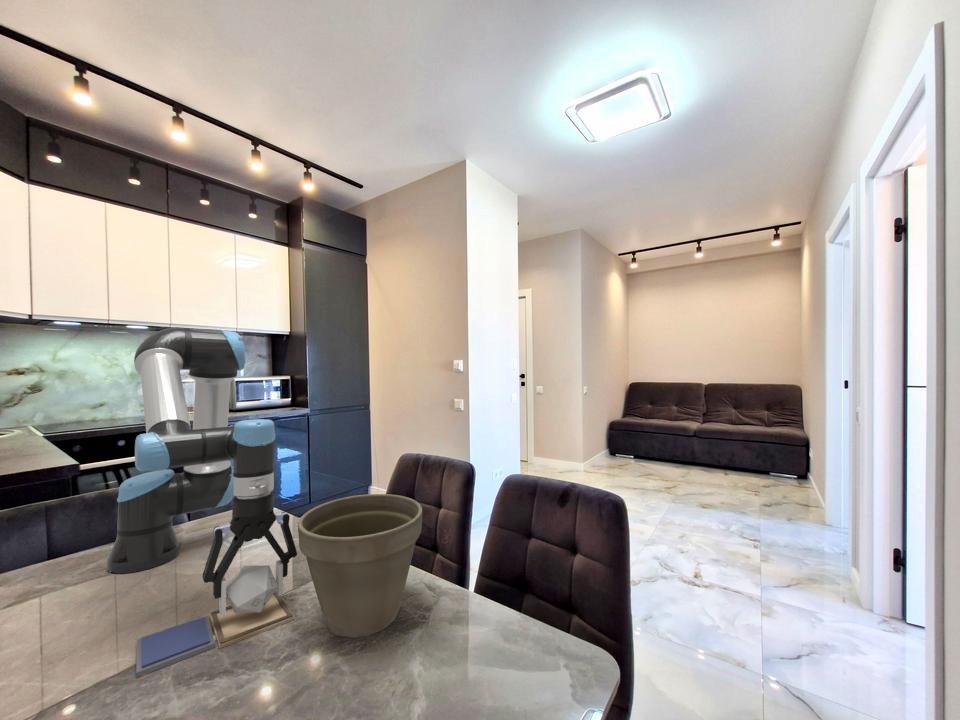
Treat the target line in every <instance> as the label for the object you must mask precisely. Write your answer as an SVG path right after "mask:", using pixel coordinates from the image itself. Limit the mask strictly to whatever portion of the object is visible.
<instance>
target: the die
mask: <svg viewBox="0 0 960 720" xmlns="http://www.w3.org/2000/svg"><path fill="white" fill-rule="evenodd" d="M277 588H278V584H277V582H276V577H275V576H274V573H273V572H272V570H271V567H270V565H243V566H242V567H241V569H240V570H239V572H237V574H236V575H235V577H234V578H233V579H232V580H231V581H230V582H229V584H228V585H226V599H227V600H228V602H229V604H230V606H232V608H233V611H234V613H249V612H261V611H262V609H263V608H264V607H265V605H266V603H267V602H268V601H269V599H270V598H271V597H272V595H273V594H274V592H275V591H276V589H277Z"/></svg>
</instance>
